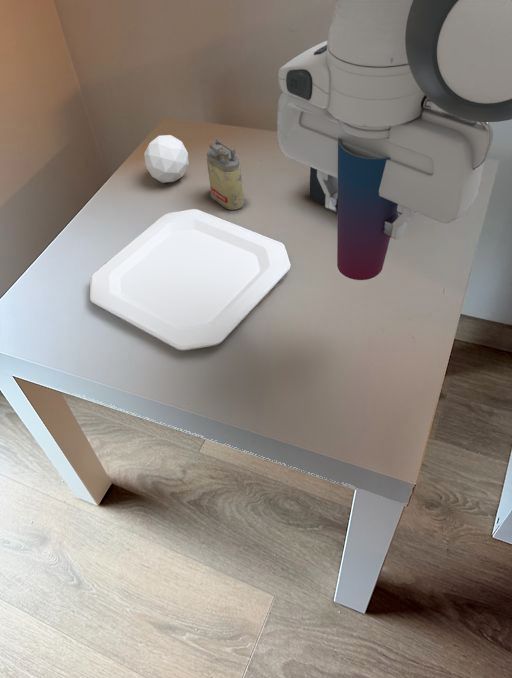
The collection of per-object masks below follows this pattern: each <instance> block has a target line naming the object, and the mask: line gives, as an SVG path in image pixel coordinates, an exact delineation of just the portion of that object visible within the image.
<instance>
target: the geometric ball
mask: <svg viewBox="0 0 512 678" xmlns="http://www.w3.org/2000/svg"><path fill="white" fill-rule="evenodd" d="M143 157H144V162H145V163H144V164H145V167H146V169H147V171H148V172H149V174H150V176H151V178H153V179H156V180H157V181H158V182H160V183H161V184H165V183H174V182H176V181H178V180H179V179H180V178H182V177H183V176H184V175H185V173H186V171H187V169H188V167H189V165H190V164H189V162H190V161H189V152H188V150H187V148H186V147H185V145H184V143H183V141H182V140H180V139H178V138H177V137H175V136H173V135H172V134H167V135H166V134H165V135H157V136H156V137H155V138H154V139H152V140H151V141H150V142H149V144H148V146H147V147H146V149H145V151H144V153H143Z"/></svg>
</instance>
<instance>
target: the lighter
mask: <svg viewBox="0 0 512 678" xmlns="http://www.w3.org/2000/svg"><path fill="white" fill-rule="evenodd" d="M208 145H209V146H208V147H209V149H208V150H207V151H206V165H207V172H208V179H209V180H208V181H209V187H210V188H209V189H210V197H211V198H212V199H213V200H214V201H216V202H217V203H218V204H220V206H223V207H224V208H225V209H227V210H229V211H230V210H231V211H234V210H238V209H241V208H243V206H244V205H245V200H244V191H243V190H244V189H243V178H242V166H241V164H240V163H241V162H240V158H239V157H238V156H237V155H236V154H237V153H236V148H235V147H230V146H227V145H226V144H224V143H223V142H222V140H221V139H219V138H218V139H217V138H215V141H214V143H209V144H208Z"/></svg>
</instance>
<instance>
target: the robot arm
mask: <svg viewBox="0 0 512 678" xmlns="http://www.w3.org/2000/svg"><path fill="white" fill-rule="evenodd" d="M277 77H278V86H279V88H280V90H281V91H282V93H280V96H279V98H278V102H277V114H276V130H277V131H276V133H277V143H278V146H279V148H280V150H281V153H283V155H284V156H285V157H286V158H289V159H291V160H293V161H295V162H298V163H300V164H303V165H305V166H307V167H312V168H314V169H317V178H318V180H319V183H320V185H321V187H322V189H323V191H324V193H325V194H326V199H325V205H324V207H325V208H326V209H328V210H331V211H333V212H335V213H338V137H339V138H340V139H341V140H342V144H343V146H344V147H345V149H346V150H348V151H349V152H351V153H353V154H356V155H358V156H363V157H369V158H383V157H390V159H389V160H386V164H385V168H384V172H383V176H382V180H381V184H380V188H379V196H380V197H383V198H385V199H387V200H390V201H392V202H394V203H397V204H398V206H397V211H398V212H400V213H402V214H399V213H395V214H394V215H393V216H392V217H390V218H388V219H387V220H386V221H385V224H384V228H385V230H383V234H385V235H387V236H389V237H390V239H393V240H395V241H397V240H398V239H400V238H401V237H402V236H403V235H404V234H405V232H406V230H407V226H408V221H409V219H410V218H411V217H412V216H413V215H414V214H415V213H418V214H420V215H422V216H425V217H427V218H430V219H431V220H435V221H437V222H439V223H442V224H447V225H448V224H450V223H452V222H455V221H456V220H458V219H459V218H461V217H462V216H463V215H465V214H466V213H467V212H468V211H469V210H470V209H471V208H472V207H473V205H474V204H475V203H476V200H477V198H478V195H479V191H480V187H481V182H482V177H483V170H484V165H485V164H484V163H485V161H487V158H488V156H489V153H490V150H491V146H492V143H493V139H494V129H493V127H492V126H491V124H490V123H500V122H507V121H510V120H512V0H333V14H332V20H331V24H330V28H329V30H328V34H327V40H324V41H322V42H320V43H318V44H316V45H314V46H312V47H310V48H308V49H307V50H305V51H302V53H300V54H298V55H297V56H295V57H293V58H292V59H291V60H289V61H288V62H286V63H285V64H284V65H282V66H281V67H280V68H279V69H278V76H277Z"/></svg>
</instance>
